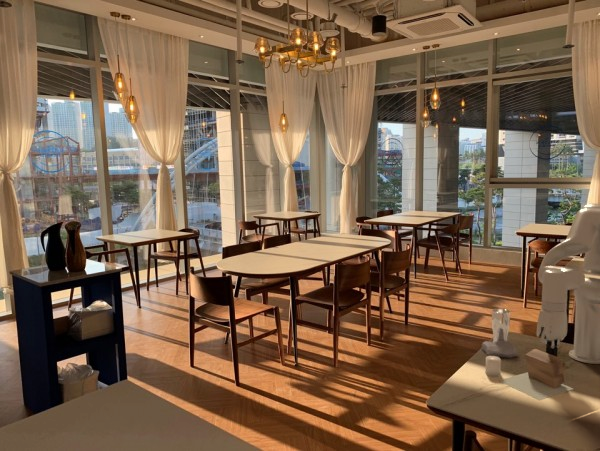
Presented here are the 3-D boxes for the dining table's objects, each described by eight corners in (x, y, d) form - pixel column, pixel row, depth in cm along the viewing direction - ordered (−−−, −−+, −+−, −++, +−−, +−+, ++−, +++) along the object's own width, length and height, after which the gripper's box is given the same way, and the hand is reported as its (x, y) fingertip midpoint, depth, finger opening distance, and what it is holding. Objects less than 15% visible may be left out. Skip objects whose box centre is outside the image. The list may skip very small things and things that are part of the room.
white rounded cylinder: (492, 370, 173) (492, 354, 172) (503, 375, 168) (504, 359, 167) (482, 373, 170) (482, 357, 170) (493, 378, 166) (493, 362, 165)
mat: (531, 372, 171) (531, 371, 171) (574, 389, 156) (574, 388, 156) (498, 381, 164) (498, 380, 163) (539, 401, 149) (539, 400, 149)
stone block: (519, 362, 184) (510, 348, 194) (520, 351, 183) (511, 338, 192) (487, 363, 186) (480, 348, 195) (488, 352, 184) (481, 338, 194)
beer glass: (496, 341, 202) (497, 307, 200) (512, 345, 197) (513, 310, 195) (487, 345, 197) (488, 310, 196) (503, 350, 192) (505, 314, 191)
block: (538, 371, 168) (534, 348, 166) (564, 382, 159) (561, 358, 157) (528, 377, 166) (525, 354, 164) (554, 388, 157) (551, 364, 155)
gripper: (558, 300, 167) (555, 350, 169) (529, 306, 160) (526, 358, 162) (578, 305, 160) (575, 358, 162) (549, 311, 154) (546, 365, 156)
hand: (551, 357), depth 162 cm, fingers closed
